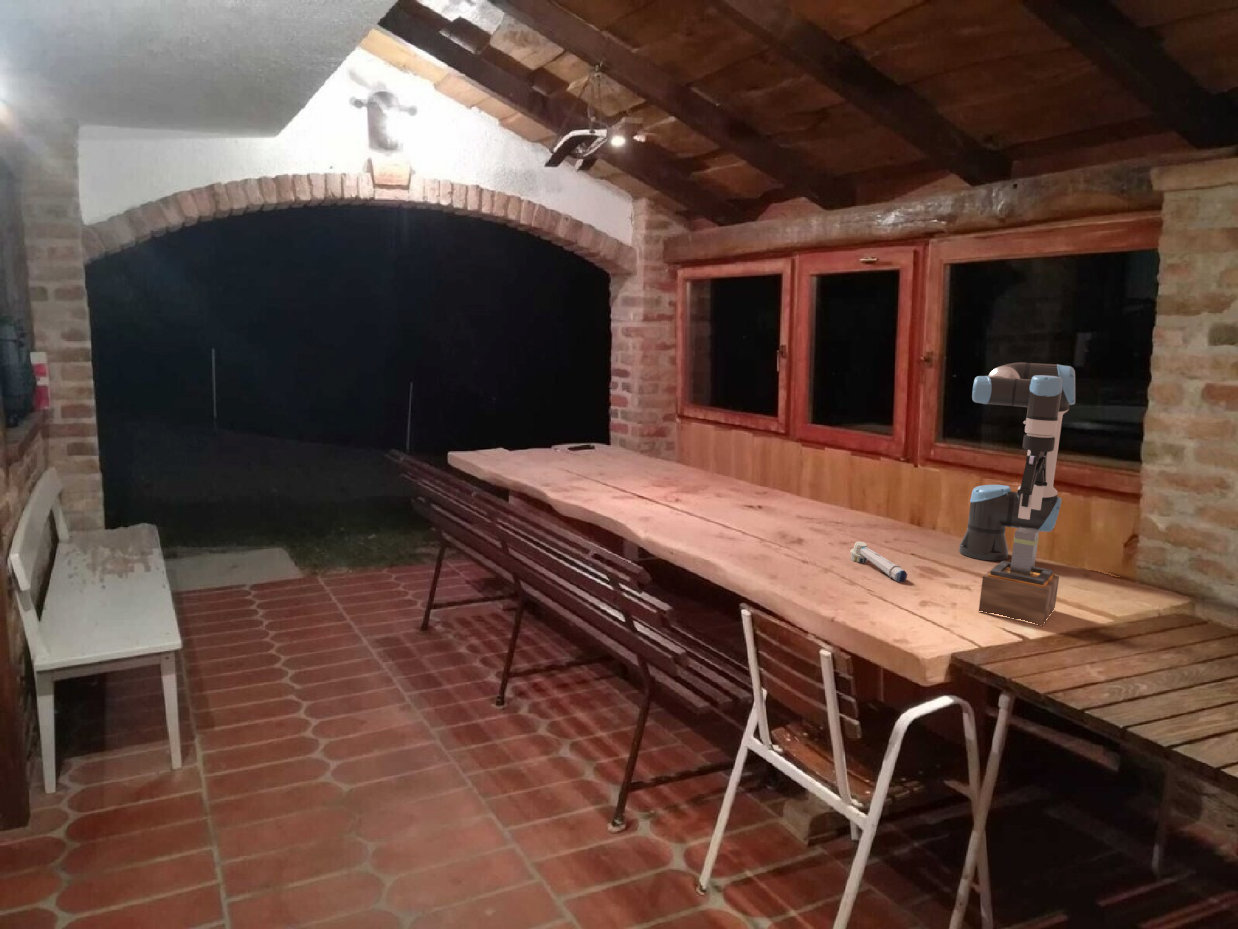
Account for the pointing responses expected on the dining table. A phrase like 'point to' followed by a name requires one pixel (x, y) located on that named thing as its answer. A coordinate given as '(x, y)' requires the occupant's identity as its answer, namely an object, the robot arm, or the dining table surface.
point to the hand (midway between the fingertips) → (1029, 513)
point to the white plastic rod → (877, 561)
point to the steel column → (1024, 551)
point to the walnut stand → (1019, 593)
